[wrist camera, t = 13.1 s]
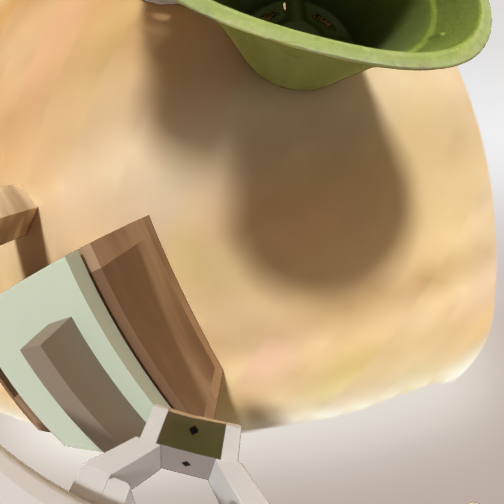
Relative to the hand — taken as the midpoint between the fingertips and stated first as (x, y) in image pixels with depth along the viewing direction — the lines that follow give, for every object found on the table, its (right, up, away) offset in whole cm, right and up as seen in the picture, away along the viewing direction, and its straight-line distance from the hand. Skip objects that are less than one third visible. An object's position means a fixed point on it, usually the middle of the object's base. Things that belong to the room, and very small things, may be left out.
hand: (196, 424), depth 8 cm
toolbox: (-12, -1, +12) cm, 17 cm away
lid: (-10, -2, +5) cm, 11 cm away
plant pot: (+5, +19, +6) cm, 21 cm away
